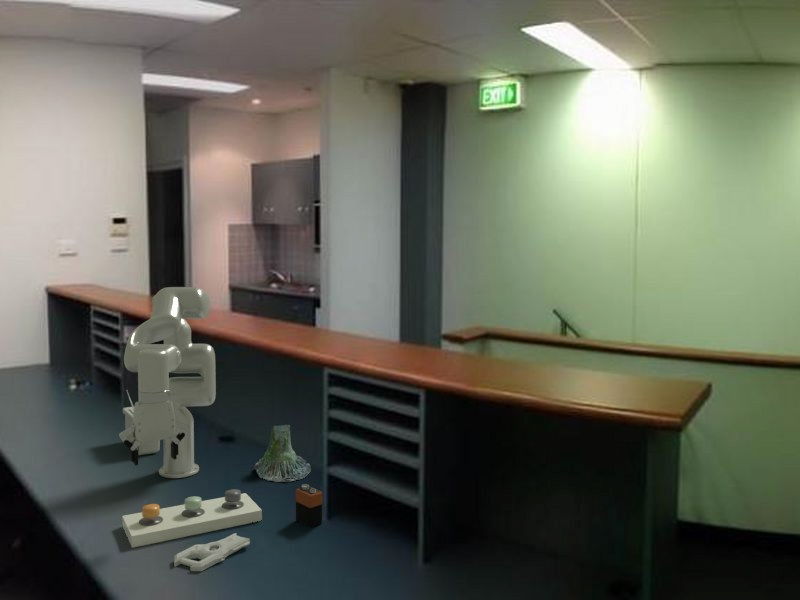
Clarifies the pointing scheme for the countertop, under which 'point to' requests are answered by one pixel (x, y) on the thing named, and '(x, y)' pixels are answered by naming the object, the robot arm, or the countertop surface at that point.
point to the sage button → (193, 503)
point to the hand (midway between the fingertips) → (154, 460)
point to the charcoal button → (232, 495)
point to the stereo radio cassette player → (143, 446)
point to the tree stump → (281, 459)
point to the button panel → (190, 520)
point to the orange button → (150, 510)
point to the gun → (210, 552)
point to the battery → (308, 506)
